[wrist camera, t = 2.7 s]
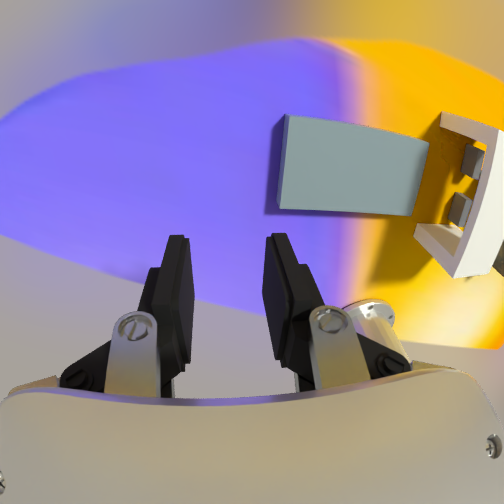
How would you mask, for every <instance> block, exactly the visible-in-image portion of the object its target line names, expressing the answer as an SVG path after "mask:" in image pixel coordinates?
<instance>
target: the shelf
mask: <svg viewBox="0 0 504 504" xmlns="http://www.w3.org/2000/svg"><path fill="white" fill-rule="evenodd" d="M440 127H443V128H446V129H448V130H451V131H454V132H457V133H459V134H462V135H465V136H467V137H470V138H472V139H474V140H477V141H479V142H482V143H484V144H486V145H487V149H486V154H485V159H484V164H483V168H482V172H481V176H480V180H479V184H478V188H477V191H476V195H475V198H474V201H473V200H471V199H470V198H468V197H467V196H465V195H464V194H462V193H458V192H455V195H454V199H453V202H452V206H451V209H450V212H449V215H448V219H449V220H450V221H452V222H453V223H454V224H455V225H456V226H455V225H444V224H423V223H417V226H416V229H415V232H414V235H413V237H414V238H415V239H416V240H417V241H418V242H419V243H420V244H421V245H422V246H423V247H424V248H425V249H426V250H427V251H428V252H429V253H430V254H431V255H432V256H433V257H434V258H435V260H436V261H437V262H438V263H439V264H440V265H441V266H442V267H443V268H444V269H445V270H446V272H447V273H448V274H449V275H450V276H451V277H452V278H460V277H468V276H475V275H483V274H489V271H490V269H491V267H492V265H493V263H494V261H495V259H496V256H497V254H498V252H499V249H500V247H501V245H502V242H503V240H504V132H502V131H501V130H499V129H496V128H494V127H491V126H488V125H485V124H483V123H480V122H477V121H474V120H471V119H468V118H464V117H461V116H458V115H455V114H451V113H448V112H444V111H442V114H441V121H440ZM484 153H485V151H483V150H481V149H479V148H476V147H474V146H472V145H469V144H466V149H465V154H464V159H463V163H462V168H461V172H462V173H464V174H466V175H468V176H469V177H471V178H473V179H477V180H478V179H479V175H480V171H481V167H482V163H483V158H484ZM472 201H473V205H472V208H471V211H470V214H469V210H470V207H471V204H472ZM468 214H469V217H468ZM467 217H468V220H467ZM466 220H467V223H466ZM465 223H466V226H465V229H464V232H463V231H461V230H460V229H459V228H458V227H464V225H465ZM457 226H458V227H457Z"/></svg>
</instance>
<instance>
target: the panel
mask: <svg viewBox="0 0 504 504" xmlns="http://www.w3.org/2000/svg"><path fill="white" fill-rule="evenodd" d="M428 148H429V143H428V142H426V141H424V140H421V139H418V138H415V137H411V136H407V135H403V134H399V133H395V132H391V131H387V130H383V129H378V128H374V127H369V126H364V125H359V124H354V123H348V122H342V121H336V120H330V119H323V118H316V117H308V116H300V115H291V114H285V120H284V130H283V140H282V151H281V161H280V170H279V180H278V189H277V199H276V202H277V204H278V206H279V208H280V209H303V210H326V211H345V212H362V213H377V214H390V215H403V216H411V215H412V212H413V208H414V205H415V201H416V198H417V194H418V190H419V187H420V183H421V179H422V175H423V171H424V167H425V162H426V158H427V153H428Z"/></svg>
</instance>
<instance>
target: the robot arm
mask: <svg viewBox="0 0 504 504" xmlns="http://www.w3.org/2000/svg"><path fill="white" fill-rule="evenodd" d="M262 296H263V301H264V306H265V311H266V316H267V322H268V327H269V332H270V336H271V342H272V347H273V352H274V357H275V360H280V362H281V367H282V368H285V367H288V368H289V369H290V370H292V371H293V372H295V373H294V378H295V387H296V393H290V394H281V395H270V396H257V397H242V398H215V399H183V398H182V399H181V398H175V392H174V379H173V378H174V377H175V376H177V375H178V374H179V373H180V372H185V364H190V361H191V341H192V327H193V312H194V298H195V295H194V284H193V274H192V264H191V253H190V242H189V238H184V235H170V236H169V239H168V243H167V246H166V250H165V253H164V257H163V260H162V264H161V267H154V268H150V270H149V272H148V276H147V279H146V282H145V286H144V289H143V292H142V296H141V299H140V303H139V307H138V310H137V311H135V312H130V313H128V314H125V315H123V316H122V317H121V318H119V319H118V321H117V322H116V323H115V326H114V329H113V335H112V340H110V341H108V342H107V343H105V344H104V345H102V346H100V347H99V348H97V349H96V350H94V351H93V352H91V353H89V354H88V355H86V356H85V357H83V358H81V359H80V360H78V361H77V362H75V363H73V364H72V365H70V366H69V367H68V368H67V369H65V370H64V372H63V373H62V375H61V377H59V378H57V376H56V375H55V376H51V377H48V378H44V379H41V380H38V381H34V382H31V383H27V384H24V385H20V386H17V387H15V388H13V389H12V390H11V391H10V392H9V394H8V396H7V397H5V398H4V399H3V401H2V402H1V403H0V504H504V428H503V426H502V424H501V422H500V420H499V418H498V416H497V414H496V412H495V410H494V408H493V406H492V404H491V402H490V400H489V399H488V397H487V396H486V394H485V392H484V391H483V389H482V388H481V386H480V385H479V384H478V383H477V381H476V380H475V379H474V378H473V377H471V375H469V374H467V373H465V372H462V371H459V370H456V369H454V368H451V367H445V366H439V365H434V364H429V363H424V362H419V361H414V360H413V361H412V362H410V360H409V358H408V356H407V354H406V352H405V350H404V349H403V347H402V345H401V343H400V341H399V339H398V338H397V336H396V334H395V332H394V330H393V329H392V326H393V324H394V320H395V313H394V311H393V309H392V308H391V306H390V305H389V304H388V303H387V302H385V301H383V300H378V299H369V300H364V301H360V302H357V303H354V304H352V305H350V306H348V307H346V308H344V309H343V310H342V309H341V308H338V307H335V306H329V305H325V304H324V302H323V299H322V297H321V294H320V292H319V290H318V288H317V285H316V283H315V281H314V278H313V276H312V274H311V272H310V269H309V267H308V265H307V264H299V263H298V261H297V258H296V256H295V253H294V251H293V249H292V246H291V244H290V241H289V239H288V237H287V234H286V233H272V234H271V237H267V238H266V249H265V262H264V274H263V286H262Z"/></svg>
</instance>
